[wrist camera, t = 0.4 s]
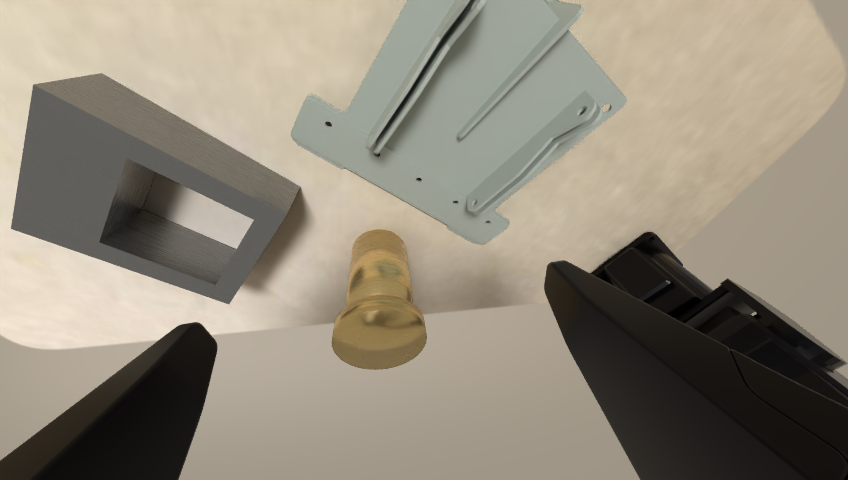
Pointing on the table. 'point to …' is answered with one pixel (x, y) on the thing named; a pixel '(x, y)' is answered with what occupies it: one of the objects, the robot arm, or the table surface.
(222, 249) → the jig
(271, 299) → the table surface
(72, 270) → the table surface
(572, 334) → the robot arm
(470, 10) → the metal bracket
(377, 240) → the knob
